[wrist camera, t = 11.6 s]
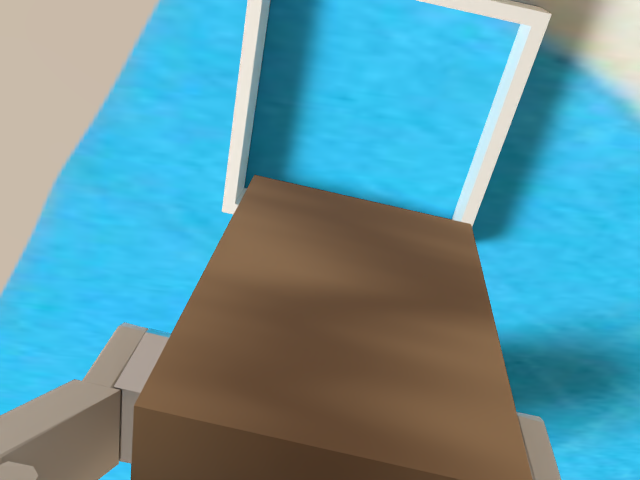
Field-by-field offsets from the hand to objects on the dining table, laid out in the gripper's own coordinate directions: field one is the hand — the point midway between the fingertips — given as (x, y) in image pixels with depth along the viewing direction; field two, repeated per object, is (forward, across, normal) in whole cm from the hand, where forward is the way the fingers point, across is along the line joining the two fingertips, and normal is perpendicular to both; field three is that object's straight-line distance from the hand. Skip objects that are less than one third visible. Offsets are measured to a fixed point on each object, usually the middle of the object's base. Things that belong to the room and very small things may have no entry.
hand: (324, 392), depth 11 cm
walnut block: (+4, 0, 0) cm, 4 cm away
